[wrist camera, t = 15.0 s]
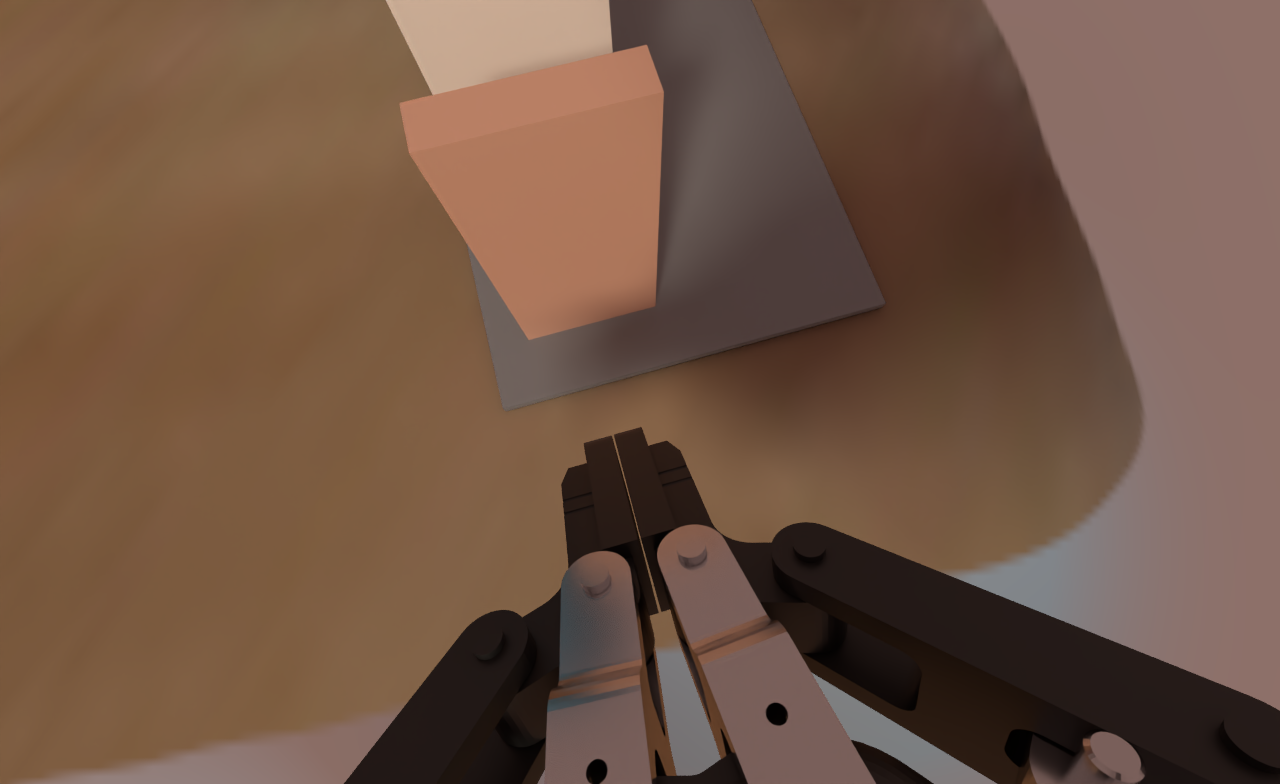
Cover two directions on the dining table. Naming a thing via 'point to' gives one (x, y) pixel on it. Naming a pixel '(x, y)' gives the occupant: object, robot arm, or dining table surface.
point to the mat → (707, 216)
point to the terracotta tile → (553, 184)
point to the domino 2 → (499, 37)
